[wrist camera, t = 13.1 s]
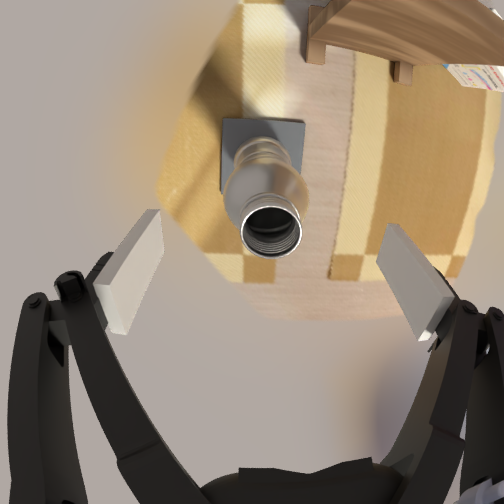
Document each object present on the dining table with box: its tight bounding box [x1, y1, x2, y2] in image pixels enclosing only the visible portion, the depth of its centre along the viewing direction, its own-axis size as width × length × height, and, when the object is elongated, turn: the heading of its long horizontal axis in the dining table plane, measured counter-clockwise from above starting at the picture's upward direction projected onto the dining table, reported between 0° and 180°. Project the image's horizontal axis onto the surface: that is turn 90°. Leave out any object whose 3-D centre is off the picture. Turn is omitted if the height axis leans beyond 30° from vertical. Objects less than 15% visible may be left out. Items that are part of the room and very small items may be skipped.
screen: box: [306, 0, 504, 86], centre depth 16 cm, size 8×14×22 cm, turn 87°
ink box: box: [442, 8, 504, 92], centre depth 17 cm, size 9×8×13 cm
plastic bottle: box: [223, 136, 309, 259], centre depth 25 cm, size 6×7×20 cm
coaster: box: [221, 118, 306, 194], centre depth 33 cm, size 10×10×1 cm
